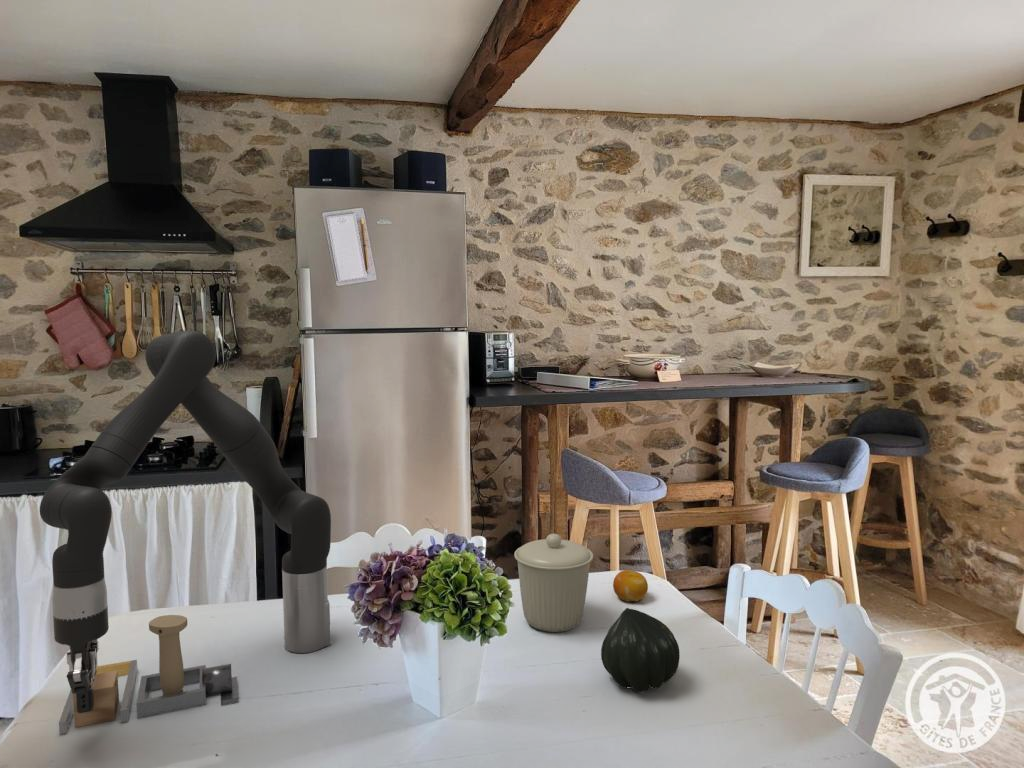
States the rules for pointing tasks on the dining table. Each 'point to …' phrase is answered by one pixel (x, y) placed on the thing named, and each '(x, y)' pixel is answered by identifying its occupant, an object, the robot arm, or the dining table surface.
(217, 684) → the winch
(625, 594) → the fruit
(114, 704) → the tan cardboard box
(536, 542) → the canister
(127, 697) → the bay
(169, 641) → the handle
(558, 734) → the dining table surface
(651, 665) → the squash
